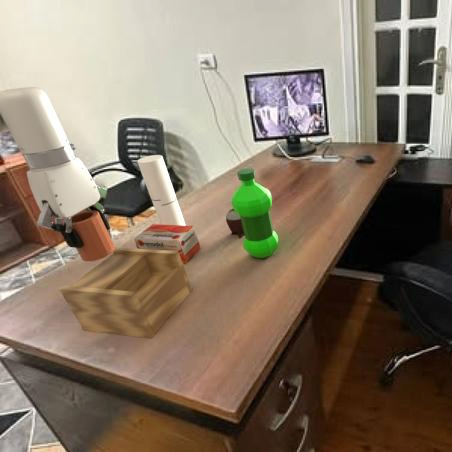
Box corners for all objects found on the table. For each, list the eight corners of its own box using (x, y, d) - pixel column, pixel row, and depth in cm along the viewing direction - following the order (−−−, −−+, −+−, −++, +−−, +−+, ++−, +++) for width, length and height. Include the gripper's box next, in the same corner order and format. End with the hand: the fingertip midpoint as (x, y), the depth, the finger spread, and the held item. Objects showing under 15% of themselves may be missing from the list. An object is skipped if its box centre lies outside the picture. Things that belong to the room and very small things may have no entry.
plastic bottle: (242, 249, 104) (222, 169, 91) (277, 240, 107) (262, 161, 94) (248, 267, 95) (226, 182, 83) (285, 256, 98) (270, 173, 86)
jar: (75, 260, 75) (55, 224, 71) (98, 244, 81) (81, 209, 76) (99, 262, 74) (80, 225, 69) (121, 246, 79) (105, 210, 75)
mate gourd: (228, 239, 109) (216, 196, 102) (232, 227, 116) (221, 186, 109) (252, 237, 110) (242, 193, 102) (255, 225, 117) (245, 183, 109)
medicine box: (142, 260, 103) (132, 237, 99) (160, 245, 110) (151, 223, 106) (186, 264, 99) (178, 240, 95) (202, 248, 106) (195, 225, 102)
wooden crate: (83, 330, 79) (58, 288, 73) (132, 285, 93) (115, 247, 87) (151, 338, 75) (130, 295, 69) (192, 290, 89) (178, 250, 83)
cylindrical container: (169, 225, 122) (144, 155, 110) (189, 223, 122) (166, 154, 109) (160, 235, 116) (132, 163, 104) (180, 234, 115) (155, 161, 103)
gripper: (73, 144, 75) (107, 218, 83) (-12, 174, 60) (40, 260, 69) (102, 143, 73) (133, 219, 82) (22, 174, 58) (70, 262, 67)
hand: (90, 237), depth 75 cm, fingers closed on jar, 6 cm apart
